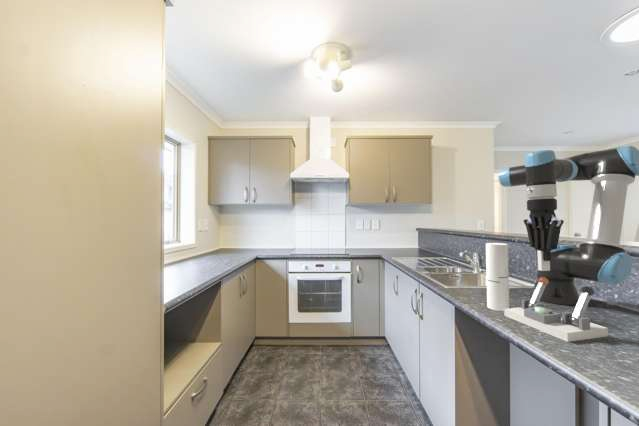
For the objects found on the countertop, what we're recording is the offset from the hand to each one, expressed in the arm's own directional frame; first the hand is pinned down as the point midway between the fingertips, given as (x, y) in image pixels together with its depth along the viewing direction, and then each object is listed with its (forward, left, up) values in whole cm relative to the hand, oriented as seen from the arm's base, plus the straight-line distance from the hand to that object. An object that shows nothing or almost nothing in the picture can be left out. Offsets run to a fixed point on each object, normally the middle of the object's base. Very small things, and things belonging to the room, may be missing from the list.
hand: (544, 270), depth 85 cm
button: (+2, +1, -15) cm, 15 cm away
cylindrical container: (+1, -17, -18) cm, 25 cm away
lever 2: (-1, +7, -15) cm, 17 cm away
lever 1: (-1, -6, -15) cm, 16 cm away
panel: (-2, 0, -18) cm, 18 cm away
